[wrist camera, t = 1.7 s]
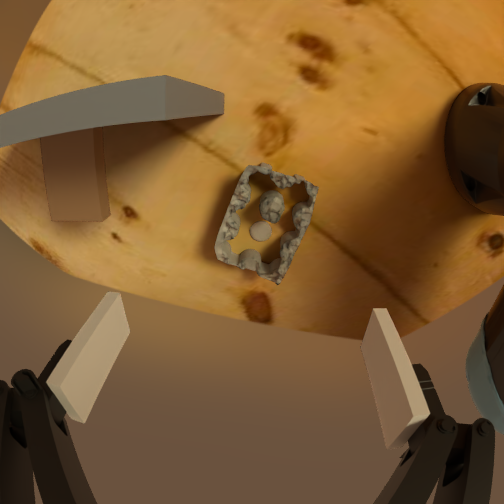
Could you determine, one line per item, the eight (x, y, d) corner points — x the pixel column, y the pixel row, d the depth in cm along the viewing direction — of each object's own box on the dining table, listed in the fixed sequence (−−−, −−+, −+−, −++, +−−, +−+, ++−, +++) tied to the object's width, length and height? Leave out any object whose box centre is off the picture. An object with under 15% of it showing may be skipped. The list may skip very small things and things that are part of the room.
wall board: (224, 93, 25) (165, 75, 10) (223, 194, 29) (176, 283, 15) (32, 120, 26) (-72, 150, 11) (40, 196, 30) (-51, 255, 16)
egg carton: (278, 269, 33) (278, 291, 29) (213, 245, 32) (206, 264, 28) (321, 182, 28) (329, 194, 25) (250, 152, 27) (246, 159, 24)
